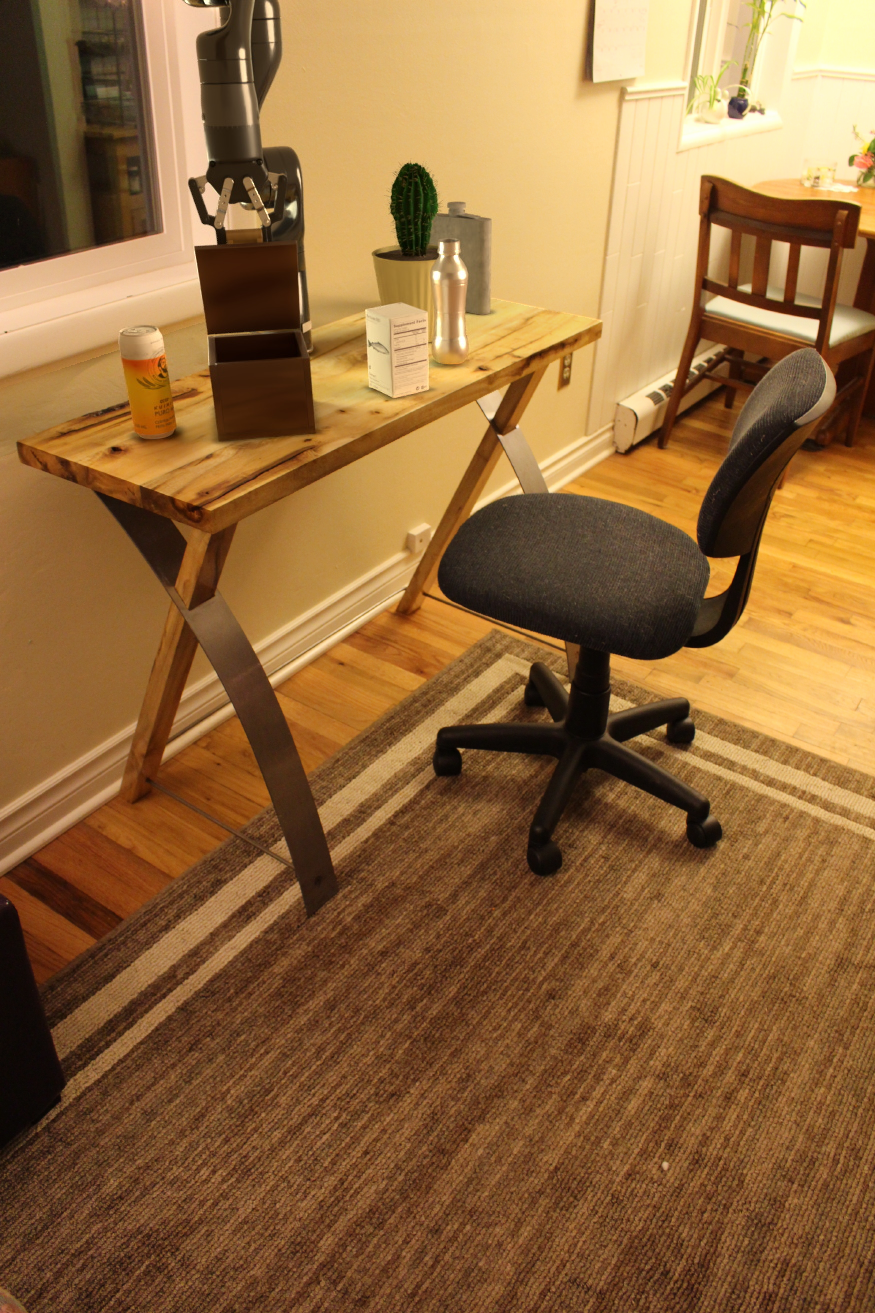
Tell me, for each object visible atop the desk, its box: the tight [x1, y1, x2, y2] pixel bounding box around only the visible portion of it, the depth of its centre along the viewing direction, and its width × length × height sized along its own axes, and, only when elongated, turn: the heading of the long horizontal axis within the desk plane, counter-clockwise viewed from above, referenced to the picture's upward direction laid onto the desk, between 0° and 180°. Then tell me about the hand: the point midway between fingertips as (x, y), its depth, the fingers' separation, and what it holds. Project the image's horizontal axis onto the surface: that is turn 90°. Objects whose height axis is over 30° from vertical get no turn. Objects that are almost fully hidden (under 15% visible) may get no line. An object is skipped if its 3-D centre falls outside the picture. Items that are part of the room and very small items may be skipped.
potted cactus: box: [371, 159, 444, 343], centre depth 184 cm, size 15×15×30 cm
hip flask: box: [429, 201, 492, 316], centre depth 203 cm, size 16×4×20 cm, turn 58°
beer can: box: [117, 324, 177, 440], centre depth 147 cm, size 6×6×15 cm
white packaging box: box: [364, 303, 430, 399], centre depth 163 cm, size 7×7×13 cm
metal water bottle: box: [430, 238, 470, 365], centre depth 172 cm, size 6×7×20 cm
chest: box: [207, 330, 317, 442], centre depth 152 cm, size 15×14×11 cm
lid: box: [193, 227, 301, 336], centre depth 149 cm, size 16×14×6 cm
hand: (245, 254), depth 146 cm, fingers closed on lid, 5 cm apart
